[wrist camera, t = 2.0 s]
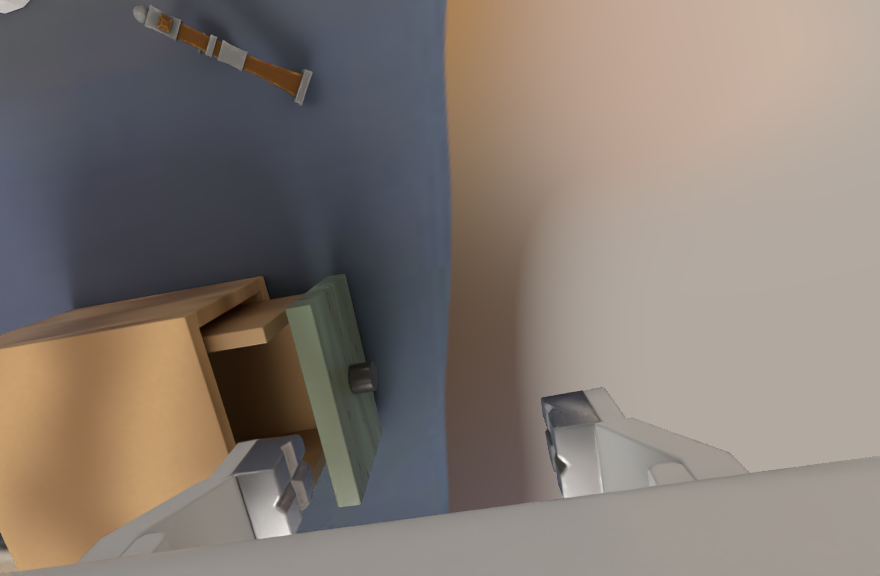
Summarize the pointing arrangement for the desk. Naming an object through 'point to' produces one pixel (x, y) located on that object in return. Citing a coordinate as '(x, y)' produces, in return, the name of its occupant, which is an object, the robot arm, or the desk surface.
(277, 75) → the wooden post with brackets
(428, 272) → the desk surface
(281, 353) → the drawer
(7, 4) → the white cup
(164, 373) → the cabinet
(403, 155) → the desk surface
